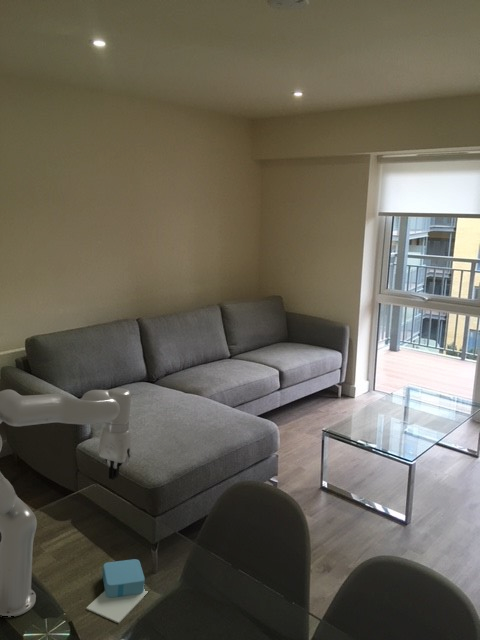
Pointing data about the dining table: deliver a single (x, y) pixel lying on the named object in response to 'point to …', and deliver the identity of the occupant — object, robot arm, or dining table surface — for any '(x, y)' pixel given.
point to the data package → (123, 578)
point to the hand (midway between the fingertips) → (113, 477)
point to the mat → (115, 606)
